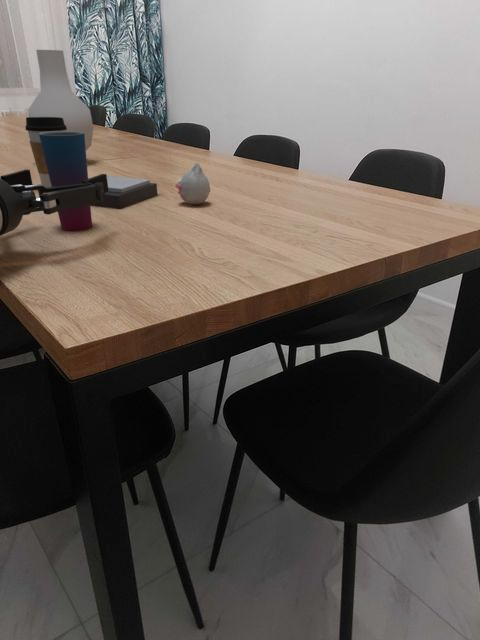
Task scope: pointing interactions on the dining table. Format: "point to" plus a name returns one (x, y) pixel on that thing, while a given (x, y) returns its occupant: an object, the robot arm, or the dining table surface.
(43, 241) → the dining table surface
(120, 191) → the scale
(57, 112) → the vase
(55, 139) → the cup
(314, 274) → the dining table surface
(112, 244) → the dining table surface
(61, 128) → the coffee cup
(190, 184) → the figurine
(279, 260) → the dining table surface
